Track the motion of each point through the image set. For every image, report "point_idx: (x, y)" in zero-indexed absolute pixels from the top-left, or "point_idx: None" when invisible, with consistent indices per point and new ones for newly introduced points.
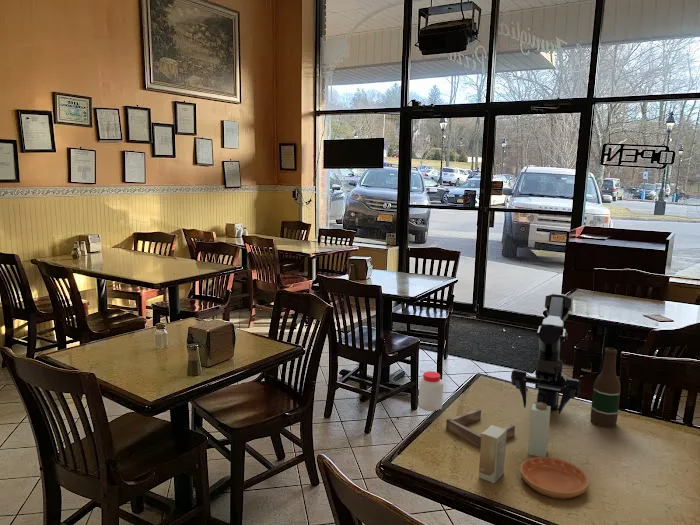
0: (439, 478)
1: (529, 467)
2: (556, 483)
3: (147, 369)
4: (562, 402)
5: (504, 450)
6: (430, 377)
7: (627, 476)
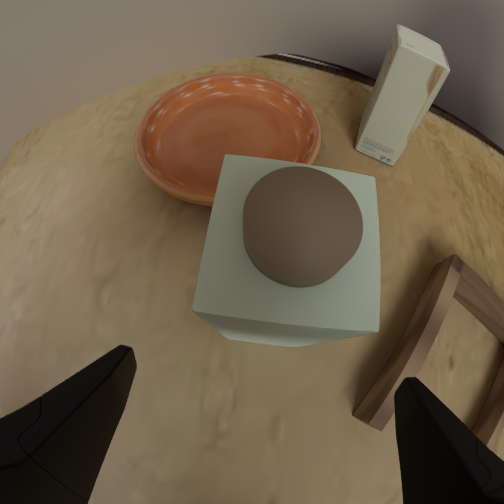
0: (446, 123)
1: None
2: (221, 125)
3: None
4: (63, 395)
5: (377, 92)
6: None
7: (32, 240)
